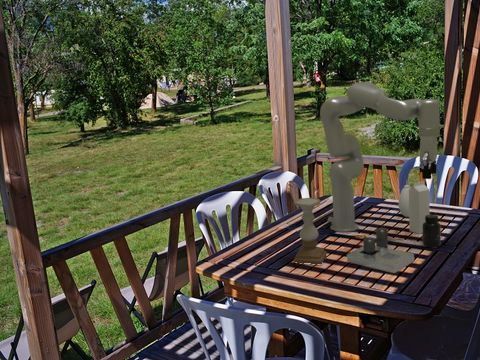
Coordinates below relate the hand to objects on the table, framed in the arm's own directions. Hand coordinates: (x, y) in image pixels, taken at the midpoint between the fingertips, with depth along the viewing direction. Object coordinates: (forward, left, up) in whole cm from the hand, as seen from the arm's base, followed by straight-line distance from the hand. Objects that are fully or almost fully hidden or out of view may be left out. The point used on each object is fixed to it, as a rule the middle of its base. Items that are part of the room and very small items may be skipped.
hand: (429, 176), depth 203 cm
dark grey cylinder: (-15, -12, -29) cm, 34 cm away
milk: (-13, +15, -29) cm, 35 cm away
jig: (-8, -25, -29) cm, 39 cm away
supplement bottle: (-1, +2, -29) cm, 29 cm away
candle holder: (-31, -38, -29) cm, 56 cm away
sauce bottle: (-28, +32, -29) cm, 51 cm away
